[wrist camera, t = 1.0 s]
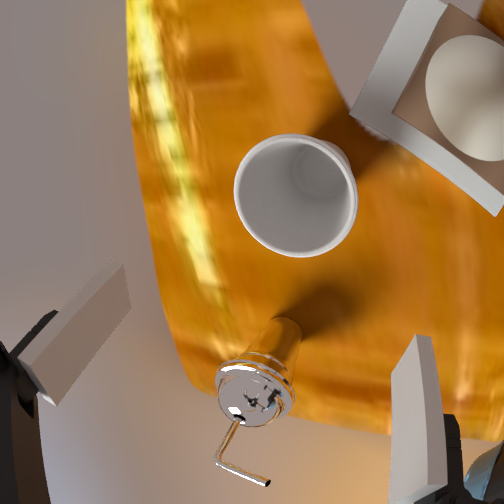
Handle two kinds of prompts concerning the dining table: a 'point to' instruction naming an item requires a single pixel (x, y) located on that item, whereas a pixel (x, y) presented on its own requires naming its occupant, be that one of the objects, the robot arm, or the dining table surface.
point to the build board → (392, 85)
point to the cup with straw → (258, 385)
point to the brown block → (460, 94)
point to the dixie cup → (296, 194)
